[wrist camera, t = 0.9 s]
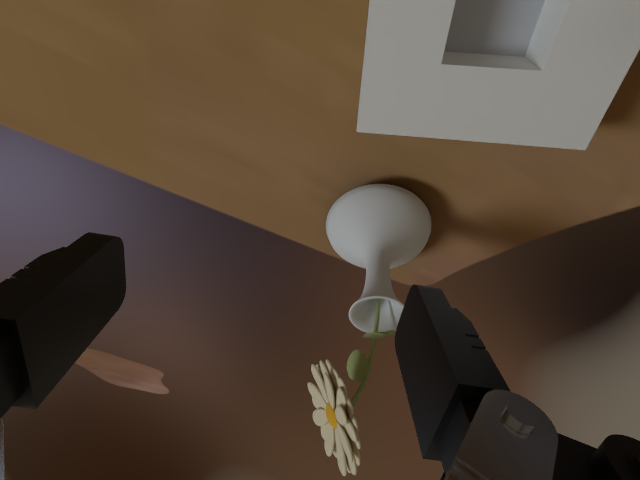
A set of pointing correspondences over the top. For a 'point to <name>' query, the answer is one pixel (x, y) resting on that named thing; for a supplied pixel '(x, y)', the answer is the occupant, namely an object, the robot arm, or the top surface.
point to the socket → (495, 68)
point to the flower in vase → (366, 297)
